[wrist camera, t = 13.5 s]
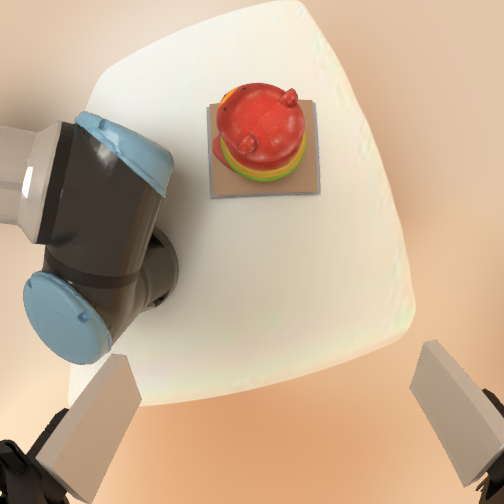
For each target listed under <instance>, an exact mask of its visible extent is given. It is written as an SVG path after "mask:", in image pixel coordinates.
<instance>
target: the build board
mask: <svg viewBox="0 0 504 504" xmlns="http://www.w3.org/2000/svg"><path fill="white" fill-rule="evenodd" d="M297 103H298V104H299V106H300V108H301V109H302V112H303V115H304V120H305V129H306V134H307V146H306V151H305V154H304V156H303V159H302V160H301V162H300V164H299V165H298V166H297V167H296V169H295V170H293V171H292V172H291V173H290V174H289V175H287V176H285V177H283V178H281V179H278V180H275V181H270V182H259V181H253V180H250V179H247V178H245V177H243V176H241V175H239V174H238V173H236V172H234V171H232V170H231V169H229V168H228V167H226V166H225V165H224V164H223V163H222V162H221V161H220V160H219V159H218V158H217V157H216V156H215V154H214V153H213V140H214V139H216V138H217V136H218V134H220V133H219V130H218V128H217V123H216V116H217V110H218V106H219V104H220V103H217V104H210V107H207V131H208V154H209V173H210V191H211V199H214V198H230V197H249V196H273V195H313V194H320V166H319V147H318V131H317V118H316V106H315V103H313V102H312V100H298V101H297Z"/></svg>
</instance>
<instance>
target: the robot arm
mask: <svg viewBox="0 0 504 504" xmlns="http://www.w3.org/2000/svg"><path fill="white" fill-rule="evenodd" d="M173 167H174V161H173V158H172V155H171V154H170V153H169V151H167V150H166V149H165V148H163V147H162V146H160V145H158V144H157V143H155V142H153V141H151V140H149V139H148V138H146V137H144V136H142V135H140V134H138V133H136V132H134V131H132V130H130V129H127V128H125V127H123V126H121V125H119V124H116V123H114V122H110V121H109V120H107V119H104V118H102V117H100V116H98V115H95V114H92V113H89V112H81V113H80V114H79V115H78V117H76V118H75V124H71V123H67V122H62V121H57V122H55V123H53V124H52V125H50V126H49V127H47V128H46V129H44V130H43V131H40V132H37V133H36V132H31V131H26V130H21V129H16V128H10V127H4V126H0V223H5V224H13V225H18V226H19V227H20V228H21V229H22V230H23V232H24V233H25V234H26V236H27V237H28V239H29V240H30V241H31V243H34V244H44V245H46V247H45V255H44V263H43V268H42V270H41V271H38V272H35V273H33V274H32V276H31V278H30V279H28V280H27V282H26V284H25V286H24V291H23V301H24V307H25V310H26V313H27V316H28V318H29V321H30V323H31V325H32V327H33V329H34V330H35V331H36V333H37V334H38V336H39V337H40V339H41V340H42V341H43V342H44V343H45V344H46V345H47V346H48V347H49V348H50V349H51V350H52V351H53V352H54V353H56V354H57V355H58V356H60V357H61V358H63V359H65V360H67V361H69V362H71V363H74V364H78V365H85V364H93V363H95V362H97V361H98V360H99V359H100V358H101V357H102V356H103V355H104V354H106V353H108V352H109V351H110V350H111V347H112V345H113V344H114V343H115V342H116V341H117V339H118V338H119V337H120V336H121V334H122V333H123V332H124V331H125V330H126V328H127V327H128V326H129V325H130V324H131V323H132V321H133V320H134V319H135V318H136V317H137V315H138V314H139V313H140V312H143V311H146V310H150V309H153V308H155V307H157V306H159V305H160V304H161V303H163V302H164V301H165V300H166V299H167V297H168V296H169V295H170V294H171V292H172V291H173V289H174V287H175V285H176V282H177V278H178V261H177V257H176V253H175V251H174V248H173V246H172V245H171V243H170V241H169V240H168V239H167V237H166V236H165V235H164V234H163V233H162V232H161V231H160V230H159V229H157V228H156V227H154V225H155V222H156V219H157V216H158V213H159V210H160V207H161V204H162V201H163V199H165V198H166V196H167V194H166V190H167V186H168V183H169V180H170V177H171V174H172V172H173ZM410 390H411V391H412V393H413V395H414V396H415V398H416V400H417V401H418V403H419V405H420V406H421V408H422V410H423V411H424V413H425V415H426V417H427V418H428V420H429V422H430V424H431V425H432V427H433V429H434V431H435V432H436V434H437V436H438V438H439V440H440V442H441V443H442V445H443V447H444V449H445V451H446V453H447V455H448V457H449V459H450V460H451V462H452V464H453V466H454V468H455V470H456V472H457V474H458V476H459V478H460V480H461V482H462V485H463V487H464V488H465V487H467V486H469V485H470V484H472V483H474V482H476V481H477V480H479V479H480V478H481V477H482V475H484V474H485V472H486V471H487V473H488V476H487V477H486V478H485V479H484V480H483V481H482V482H481V483H480V484H479V485H478V486H477V488H476V491H478V490H479V489H480V488H481V487H482V486H483V485H484V487H483V489H482V490H481V491H482V494H481V498H480V501H479V504H504V406H503V404H502V403H500V401H499V399H498V398H497V397H496V396H495V395H494V394H493V393H492V392H490V391H488V390H487V389H483V390H481V389H480V388H479V387H478V386H477V384H476V383H475V382H474V381H473V380H472V379H471V377H470V376H469V375H468V374H467V373H466V372H465V371H464V369H463V368H462V367H461V366H460V365H459V364H458V363H457V361H456V360H455V359H454V358H453V357H452V356H451V355H450V354H449V353H448V352H447V350H446V349H445V348H444V347H443V346H442V345H441V344H440V343H439V342H438V341H437V340H433V341H428V342H424V343H423V346H422V350H421V353H420V357H419V361H418V364H417V367H416V370H415V373H414V376H413V379H412V382H411V385H410ZM141 400H142V398H141V396H140V393H139V391H138V388H137V385H136V383H135V380H134V377H133V374H132V371H131V368H130V365H129V363H128V359H127V356H126V355H119V354H111V356H110V357H109V358H108V360H107V361H106V362H105V363H104V365H103V366H102V367H101V368H100V370H99V371H98V372H97V374H96V375H95V376H94V377H93V379H92V380H91V381H90V383H89V384H88V385H87V387H86V388H85V389H84V391H83V392H82V393H81V395H80V396H79V397H78V399H77V400H76V401H75V403H74V404H73V405H72V407H71V408H70V409H66V408H64V409H63V410H61V411H60V412H58V413H57V414H55V416H54V417H53V419H52V420H51V421H50V424H49V425H47V427H46V428H45V431H43V432H42V433H41V435H40V436H39V437H38V439H37V440H36V442H35V443H34V444H33V446H32V447H31V449H30V450H29V451H28V453H27V454H26V455H25V454H24V453H23V452H22V450H21V449H20V448H19V447H18V446H17V444H16V443H15V442H14V441H12V440H2V441H0V491H1V492H2V495H1V496H0V504H69V501H68V499H67V497H66V496H65V494H66V493H67V491H68V492H69V493H70V494H71V495H72V496H73V497H74V498H76V499H78V500H80V501H82V502H84V503H87V504H92V502H93V499H94V497H95V495H96V493H97V491H98V489H99V486H100V484H101V482H102V480H103V478H104V476H105V474H106V472H107V469H108V467H109V465H110V463H111V461H112V459H113V457H114V455H115V452H116V451H117V449H118V447H119V444H120V442H121V440H122V438H123V436H124V434H125V432H126V430H127V428H128V426H129V424H130V422H131V420H132V418H133V416H134V414H135V412H136V410H137V408H138V406H139V404H140V402H141Z"/></svg>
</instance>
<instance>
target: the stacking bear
mask: <svg viewBox="0 0 504 504" xmlns="http://www.w3.org/2000/svg"><path fill="white" fill-rule="evenodd" d="M297 101H298V95H297V93H296V91H295V90H294V89H292V88H291V89H290V90H288V91H287V92H285V91H284V90H282V89H280V88H278V87H276V86H273V85H270V84H264V83H251V84H246V85H242V86H239V87H237V88H235V89H233V90H231V91H230V92H228V93H227V94H225V95H224V97H223V98H222V100H221V102H220V104H219V106H218V110H217V116H216V123H217V128H218V130H219V133H220V134H218V136H217V138H216V139H214V140H213V153H214V154H215V156H216V157H217V158H218V159H219V160H220V161H221V162H222V163H223V164H224V165H225V166H226V167H228V168H229V169H231V170H232V171H234V172H236V173H238V174H239V175H241V176H243V177H245V178H247V179H250V180H253V181H259V182H270V181H275V180H278V179H281V178H283V177H285V176H287V175H289V174H290V173H291V172H292V171H293V170H295V169H296V167H297V166H298V165H299V164H300V162H301V160H302V159H303V156H304V154H305V151H306V146H307V134H306V129H305V120H304V115H303V112H302V109H301V108H300V106H299V104H298V103H297Z"/></svg>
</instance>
